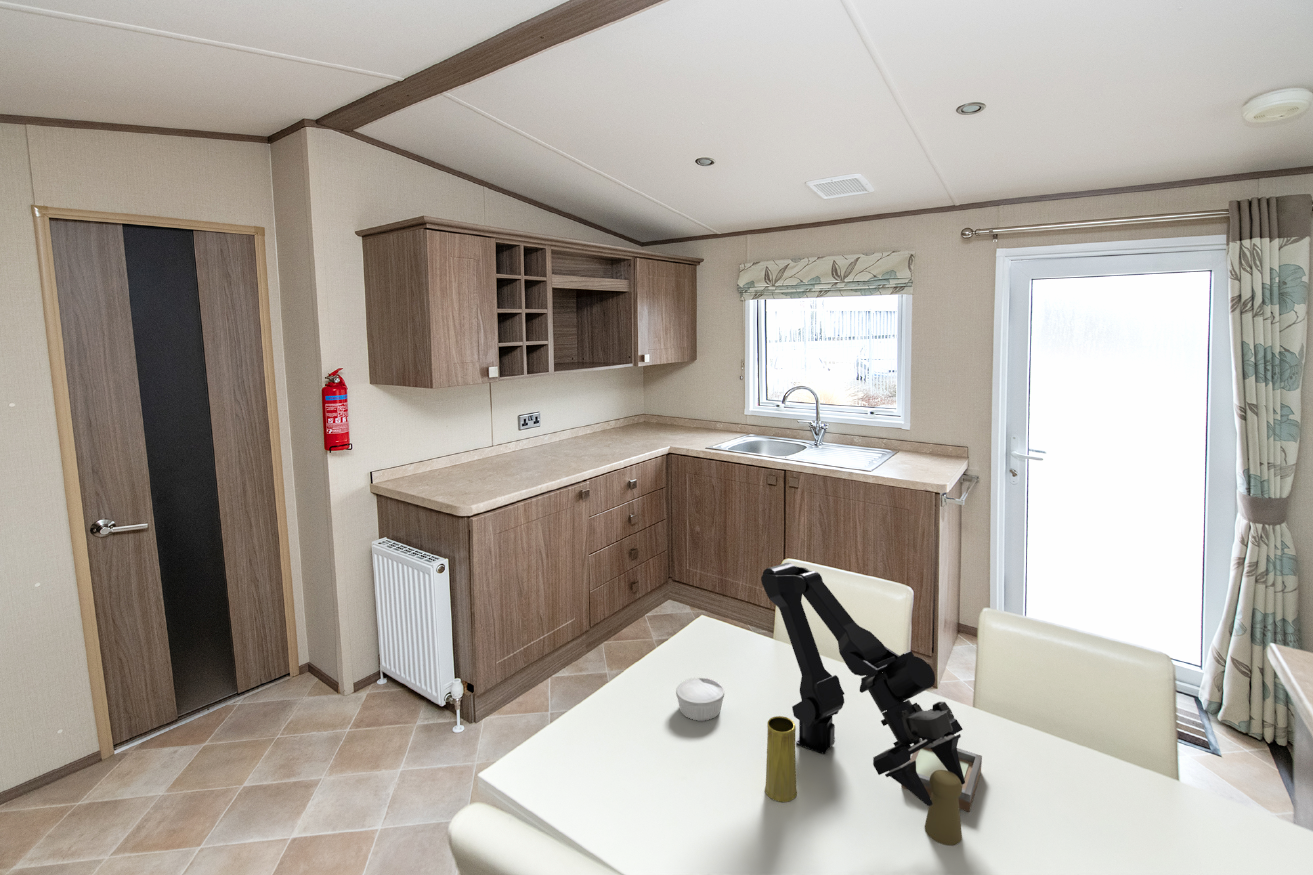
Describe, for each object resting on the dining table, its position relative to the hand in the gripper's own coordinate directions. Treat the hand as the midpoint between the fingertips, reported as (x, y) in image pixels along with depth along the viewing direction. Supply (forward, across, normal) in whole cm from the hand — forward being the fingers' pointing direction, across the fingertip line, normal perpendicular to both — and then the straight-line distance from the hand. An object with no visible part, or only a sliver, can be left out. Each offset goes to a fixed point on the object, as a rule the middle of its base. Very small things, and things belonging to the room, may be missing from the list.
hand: (947, 794), depth 112 cm
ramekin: (-33, -13, +44) cm, 57 cm away
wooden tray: (-1, +12, +11) cm, 16 cm away
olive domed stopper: (+5, 0, +6) cm, 8 cm away
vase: (-12, -16, +22) cm, 30 cm away
